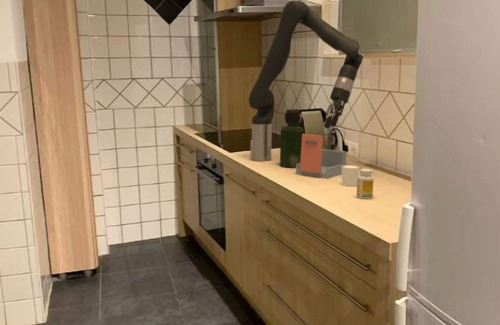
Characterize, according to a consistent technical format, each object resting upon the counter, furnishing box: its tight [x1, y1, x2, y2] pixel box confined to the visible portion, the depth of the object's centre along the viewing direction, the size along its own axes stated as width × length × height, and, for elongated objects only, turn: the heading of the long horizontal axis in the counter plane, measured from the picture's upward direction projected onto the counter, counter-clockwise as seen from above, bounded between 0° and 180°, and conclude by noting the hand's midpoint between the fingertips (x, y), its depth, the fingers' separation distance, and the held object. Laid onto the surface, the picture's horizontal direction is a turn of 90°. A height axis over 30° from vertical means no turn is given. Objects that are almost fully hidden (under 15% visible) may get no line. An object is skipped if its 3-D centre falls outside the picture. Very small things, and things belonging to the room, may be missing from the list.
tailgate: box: [300, 133, 324, 173], centre depth 205 cm, size 2×9×15 cm, turn 52°
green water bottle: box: [279, 109, 305, 169], centre depth 226 cm, size 10×10×25 cm
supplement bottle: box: [356, 168, 375, 200], centre depth 175 cm, size 5×5×10 cm
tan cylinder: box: [341, 164, 360, 187], centre depth 193 cm, size 7×7×7 cm
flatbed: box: [295, 148, 347, 179], centre depth 213 cm, size 15×15×9 cm
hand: (329, 126), depth 208 cm, fingers open, 8 cm apart
